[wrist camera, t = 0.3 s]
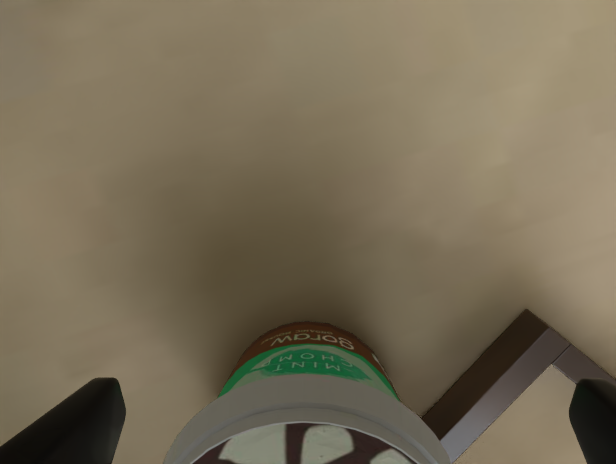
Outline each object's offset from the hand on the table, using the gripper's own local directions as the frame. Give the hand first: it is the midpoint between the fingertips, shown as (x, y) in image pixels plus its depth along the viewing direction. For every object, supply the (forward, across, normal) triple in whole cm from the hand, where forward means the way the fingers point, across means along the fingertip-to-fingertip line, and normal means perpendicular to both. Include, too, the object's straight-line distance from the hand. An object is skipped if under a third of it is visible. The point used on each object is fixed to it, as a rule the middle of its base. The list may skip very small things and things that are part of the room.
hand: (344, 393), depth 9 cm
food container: (+13, +2, +10) cm, 17 cm away
